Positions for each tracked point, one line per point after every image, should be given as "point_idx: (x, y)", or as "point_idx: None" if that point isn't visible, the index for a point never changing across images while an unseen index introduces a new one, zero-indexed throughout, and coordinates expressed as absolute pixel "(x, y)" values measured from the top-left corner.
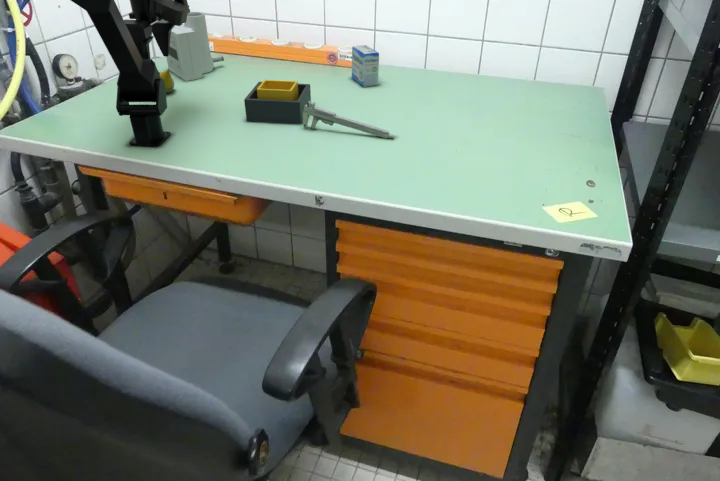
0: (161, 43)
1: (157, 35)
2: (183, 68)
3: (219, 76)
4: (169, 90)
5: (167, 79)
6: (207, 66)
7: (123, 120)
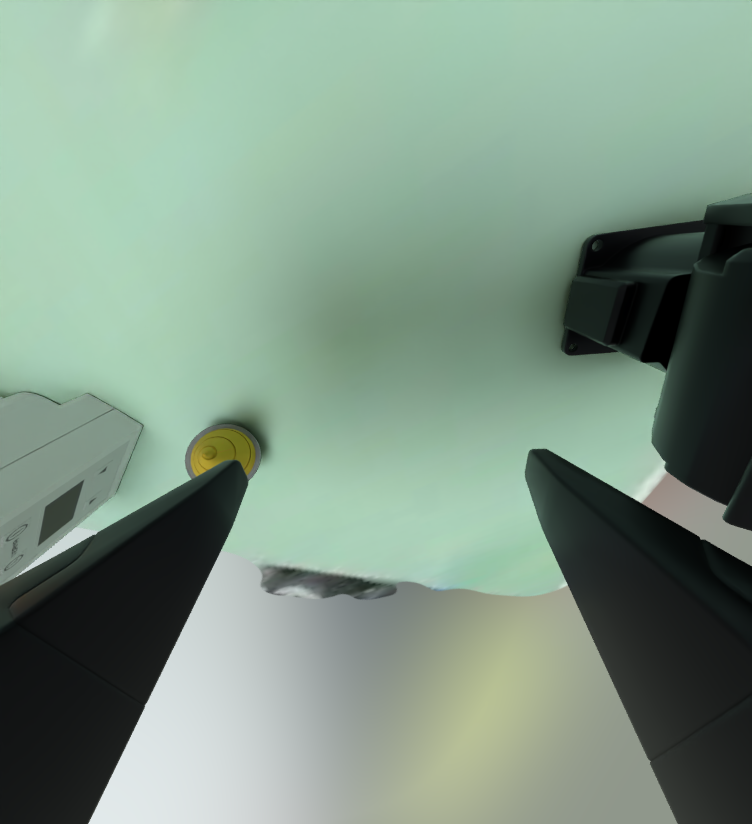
0: (188, 559)
1: (141, 650)
2: (106, 448)
3: (34, 347)
4: (237, 428)
5: (226, 444)
6: (19, 405)
7: (460, 447)
